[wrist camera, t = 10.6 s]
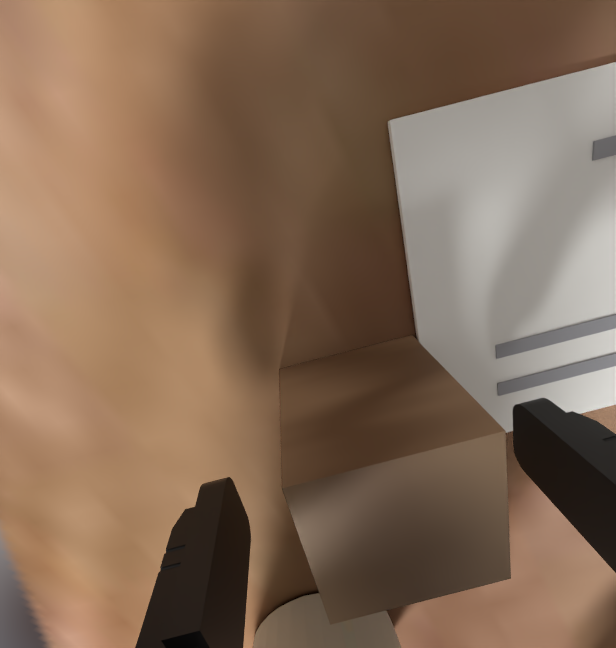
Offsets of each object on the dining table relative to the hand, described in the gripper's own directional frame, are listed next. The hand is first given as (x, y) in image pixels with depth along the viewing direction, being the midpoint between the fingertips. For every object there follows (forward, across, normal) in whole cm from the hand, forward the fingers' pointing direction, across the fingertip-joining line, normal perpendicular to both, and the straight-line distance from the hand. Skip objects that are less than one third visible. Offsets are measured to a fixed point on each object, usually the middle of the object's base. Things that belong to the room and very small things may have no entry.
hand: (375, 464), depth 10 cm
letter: (+3, -10, -3) cm, 11 cm away
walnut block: (+3, 0, 0) cm, 3 cm away
